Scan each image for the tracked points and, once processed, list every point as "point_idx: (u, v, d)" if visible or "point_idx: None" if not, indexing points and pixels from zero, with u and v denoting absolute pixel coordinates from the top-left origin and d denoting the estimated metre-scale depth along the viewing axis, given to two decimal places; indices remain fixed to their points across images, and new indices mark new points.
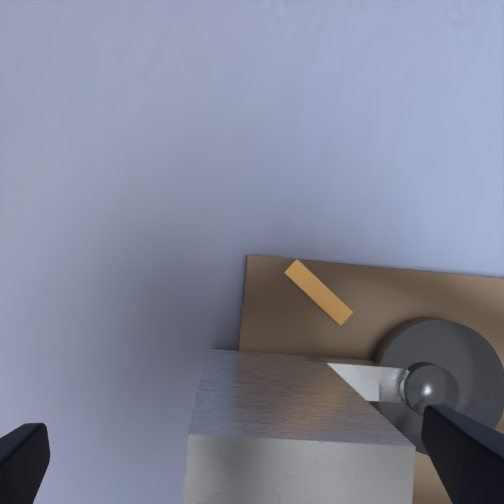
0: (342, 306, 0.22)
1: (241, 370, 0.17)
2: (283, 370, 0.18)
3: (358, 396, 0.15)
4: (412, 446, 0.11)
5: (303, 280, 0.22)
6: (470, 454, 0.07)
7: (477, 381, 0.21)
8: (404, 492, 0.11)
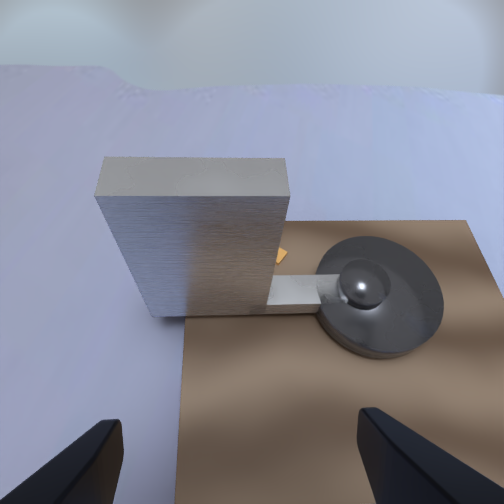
0: None
1: None
2: None
3: None
4: (282, 159, 0.14)
5: None
6: (390, 459, 0.07)
7: (409, 279, 0.22)
8: (281, 183, 0.13)
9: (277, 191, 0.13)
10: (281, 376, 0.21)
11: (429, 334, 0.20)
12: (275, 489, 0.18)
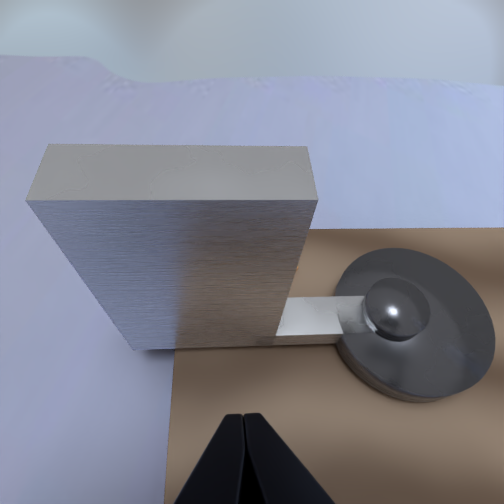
0: None
1: None
2: None
3: None
4: (304, 148, 0.10)
5: None
6: (248, 467, 0.07)
7: (449, 301, 0.18)
8: (304, 182, 0.09)
9: (298, 193, 0.09)
10: (294, 426, 0.16)
11: (480, 373, 0.16)
12: None
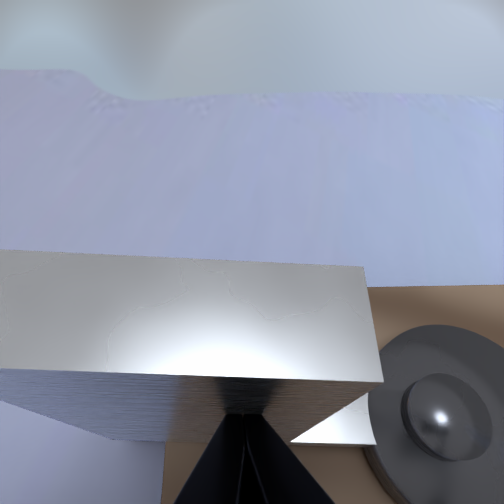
0: None
1: None
2: None
3: None
4: (358, 268, 0.06)
5: None
6: (248, 467, 0.07)
7: None
8: (360, 341, 0.06)
9: (351, 366, 0.05)
10: None
11: None
12: None
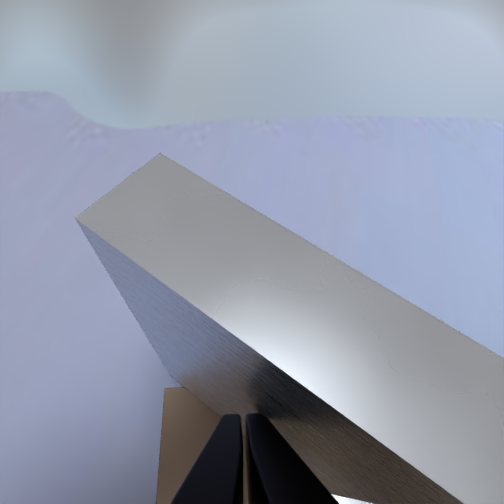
0: None
1: None
2: None
3: None
4: None
5: None
6: (251, 467, 0.07)
7: None
8: (493, 462, 0.04)
9: (465, 483, 0.04)
10: None
11: None
12: None
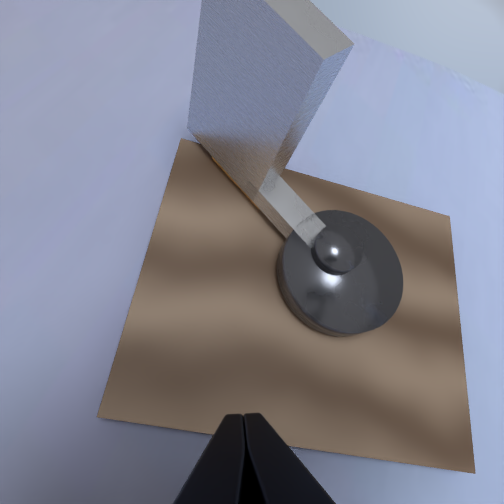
0: None
1: None
2: None
3: None
4: (352, 43, 0.14)
5: None
6: (248, 467, 0.07)
7: (375, 287, 0.22)
8: (329, 50, 0.14)
9: (318, 49, 0.14)
10: (233, 316, 0.21)
11: (340, 327, 0.20)
12: (200, 414, 0.18)
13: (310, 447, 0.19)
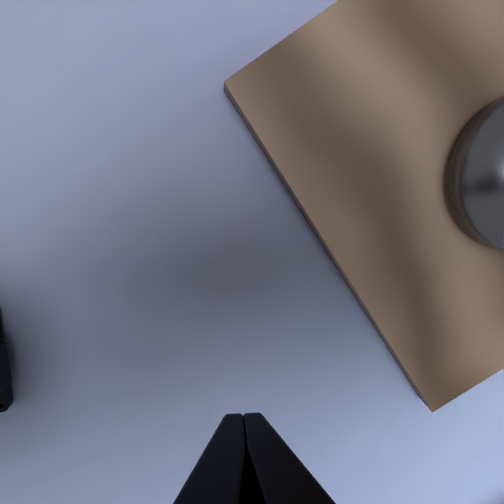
0: None
1: None
2: None
3: None
4: None
5: None
6: (248, 467, 0.07)
7: None
8: None
9: None
10: (396, 114, 0.17)
11: (478, 215, 0.16)
12: (295, 163, 0.17)
13: (345, 271, 0.19)
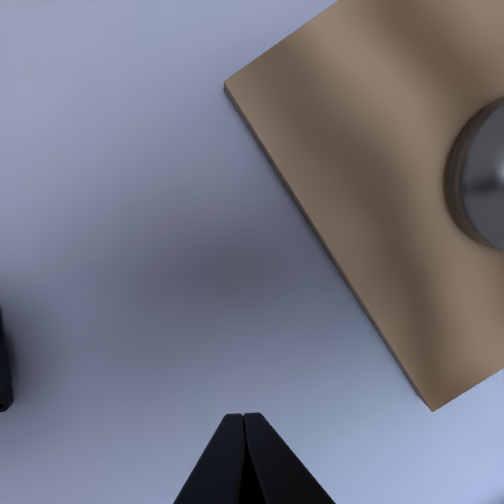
0: None
1: None
2: None
3: None
4: None
5: None
6: (248, 467, 0.07)
7: None
8: None
9: None
10: (396, 114, 0.17)
11: (478, 215, 0.16)
12: (295, 163, 0.17)
13: (345, 271, 0.19)
